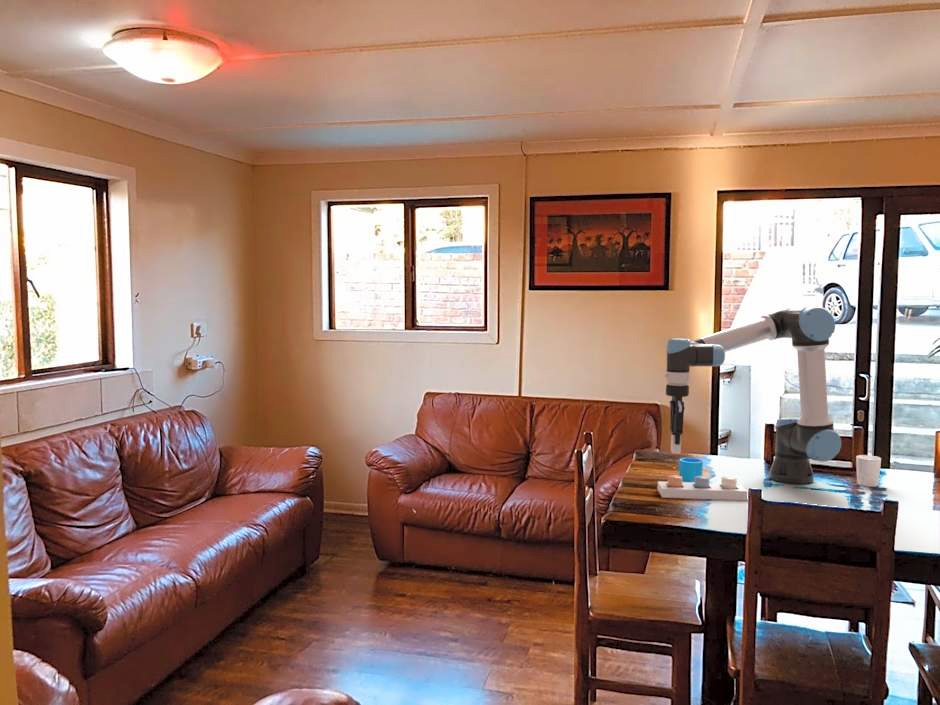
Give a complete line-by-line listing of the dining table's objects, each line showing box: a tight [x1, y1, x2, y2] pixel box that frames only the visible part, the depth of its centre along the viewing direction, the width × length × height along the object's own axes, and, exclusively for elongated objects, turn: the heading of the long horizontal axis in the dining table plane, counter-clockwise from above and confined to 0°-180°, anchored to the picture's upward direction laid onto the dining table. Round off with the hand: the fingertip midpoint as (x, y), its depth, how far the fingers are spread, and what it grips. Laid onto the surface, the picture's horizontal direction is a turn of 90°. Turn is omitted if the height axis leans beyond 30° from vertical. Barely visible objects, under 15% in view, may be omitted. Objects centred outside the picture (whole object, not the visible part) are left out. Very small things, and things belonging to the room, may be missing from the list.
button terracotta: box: [667, 474, 682, 488], centre depth 252 cm, size 5×5×4 cm
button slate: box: [694, 475, 710, 488], centre depth 251 cm, size 5×5×4 cm
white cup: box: [855, 454, 882, 488], centre depth 265 cm, size 8×8×10 cm
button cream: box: [721, 476, 738, 489], centre depth 250 cm, size 5×5×4 cm
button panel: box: [657, 480, 748, 501], centre depth 251 cm, size 28×10×3 cm, turn 84°
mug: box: [678, 457, 704, 482], centre depth 270 cm, size 12×8×8 cm
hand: (675, 452), depth 251 cm, fingers open, 2 cm apart
